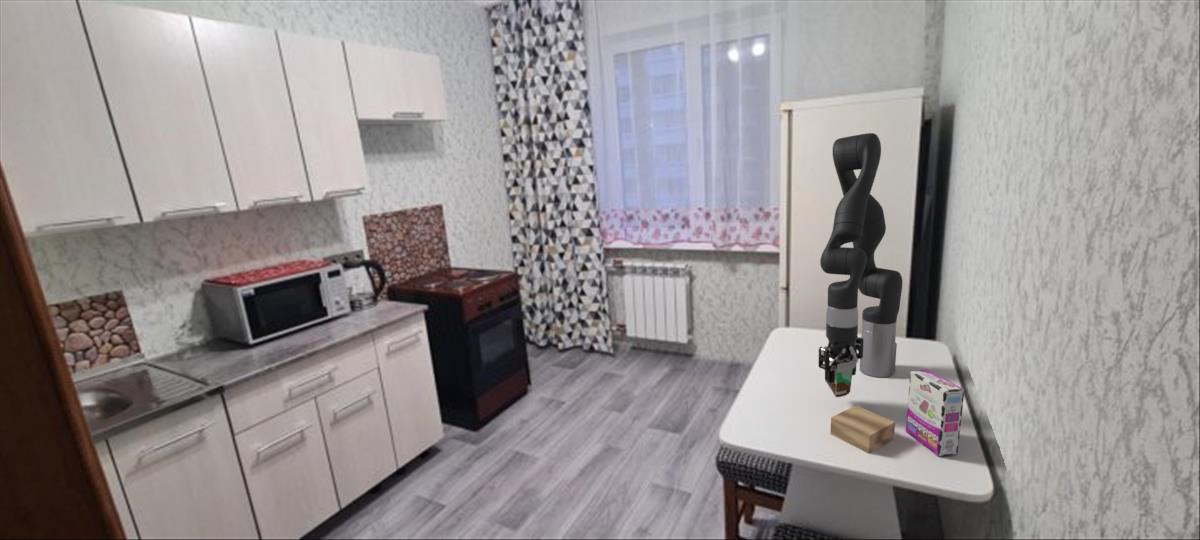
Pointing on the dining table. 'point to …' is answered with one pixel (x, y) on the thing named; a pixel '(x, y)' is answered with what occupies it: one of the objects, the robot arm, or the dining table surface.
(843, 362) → the food container
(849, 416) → the oak block
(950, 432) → the candy bar box
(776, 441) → the dining table surface
